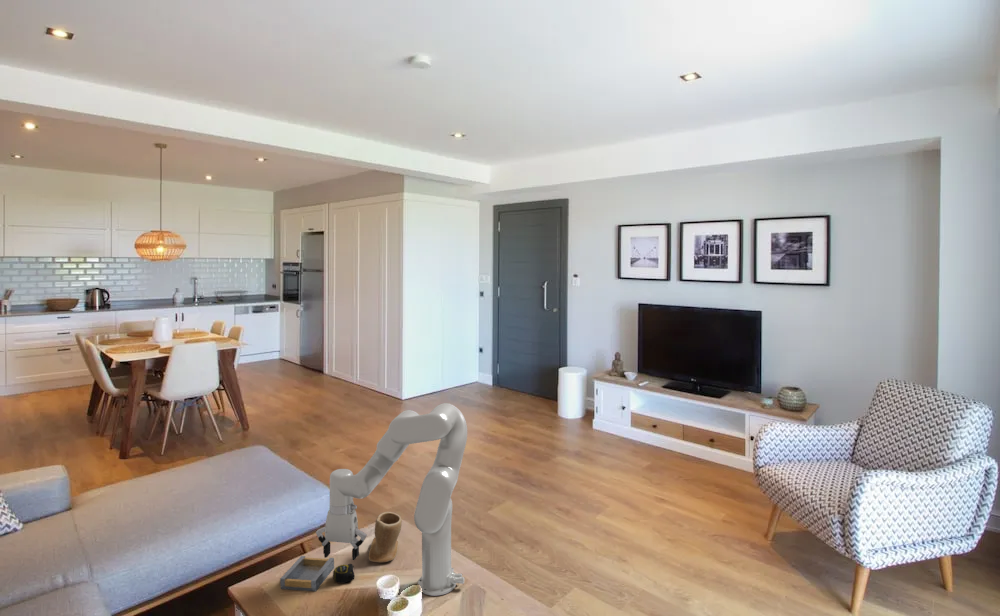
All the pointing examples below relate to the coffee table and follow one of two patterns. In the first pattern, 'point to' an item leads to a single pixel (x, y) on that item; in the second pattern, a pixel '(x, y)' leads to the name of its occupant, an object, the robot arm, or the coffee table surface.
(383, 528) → the brown boot
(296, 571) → the shallow grey tray
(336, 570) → the tape measure
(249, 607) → the coffee table surface
